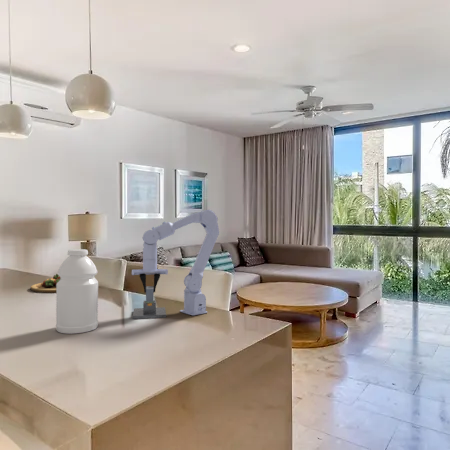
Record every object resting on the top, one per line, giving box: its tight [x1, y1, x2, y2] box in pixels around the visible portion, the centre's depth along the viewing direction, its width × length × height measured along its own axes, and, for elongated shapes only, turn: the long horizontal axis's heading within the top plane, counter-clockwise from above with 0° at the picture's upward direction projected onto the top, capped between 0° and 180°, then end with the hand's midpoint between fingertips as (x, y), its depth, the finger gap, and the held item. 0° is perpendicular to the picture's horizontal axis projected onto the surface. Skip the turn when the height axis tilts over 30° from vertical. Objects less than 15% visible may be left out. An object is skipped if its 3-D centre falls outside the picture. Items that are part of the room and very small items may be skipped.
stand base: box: [132, 299, 167, 320], centre depth 152 cm, size 13×13×5 cm
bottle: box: [55, 248, 99, 335], centre depth 130 cm, size 14×14×28 cm
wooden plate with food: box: [30, 273, 61, 294], centre depth 212 cm, size 32×32×8 cm
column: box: [145, 285, 155, 303], centre depth 152 cm, size 3×3×7 cm
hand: (149, 292), depth 152 cm, fingers closed on column, 3 cm apart
